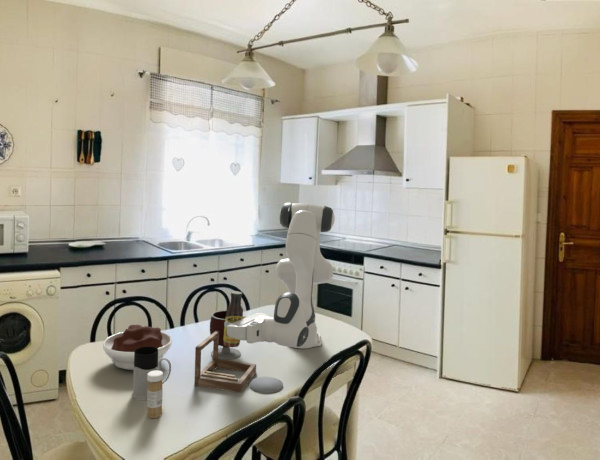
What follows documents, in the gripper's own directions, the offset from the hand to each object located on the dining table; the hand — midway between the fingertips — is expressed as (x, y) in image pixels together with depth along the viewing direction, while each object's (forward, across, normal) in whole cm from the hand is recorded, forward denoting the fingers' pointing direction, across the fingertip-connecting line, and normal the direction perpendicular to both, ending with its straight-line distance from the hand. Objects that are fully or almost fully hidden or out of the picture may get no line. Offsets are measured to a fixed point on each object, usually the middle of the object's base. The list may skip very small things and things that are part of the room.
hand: (231, 320), depth 167 cm
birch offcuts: (-1, +6, +22) cm, 22 cm away
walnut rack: (0, +2, +22) cm, 22 cm away
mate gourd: (+14, -17, +22) cm, 31 cm away
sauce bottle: (-1, 0, +9) cm, 9 cm away
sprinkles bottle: (+3, +34, +22) cm, 41 cm away
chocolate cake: (+36, +10, +22) cm, 43 cm away
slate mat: (-15, -2, +22) cm, 26 cm away
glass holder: (+13, +26, +22) cm, 36 cm away
